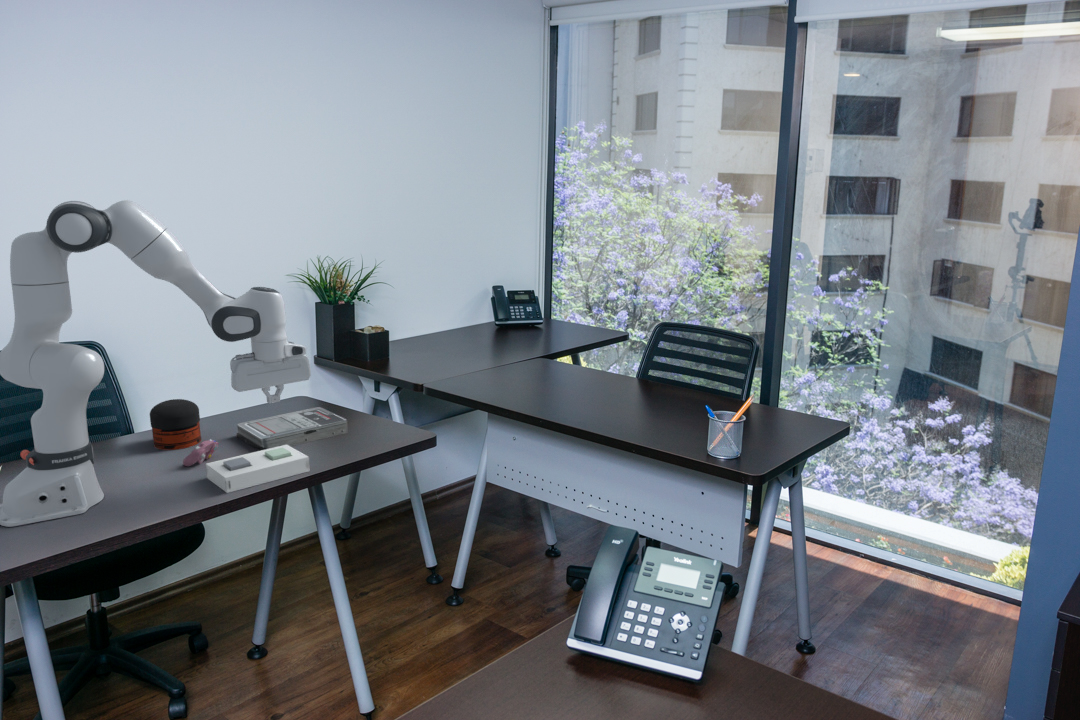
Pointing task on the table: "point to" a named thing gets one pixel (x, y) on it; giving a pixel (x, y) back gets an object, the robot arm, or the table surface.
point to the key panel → (257, 469)
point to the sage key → (277, 454)
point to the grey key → (236, 464)
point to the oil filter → (175, 424)
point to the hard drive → (292, 428)
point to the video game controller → (201, 452)
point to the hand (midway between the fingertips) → (273, 402)
